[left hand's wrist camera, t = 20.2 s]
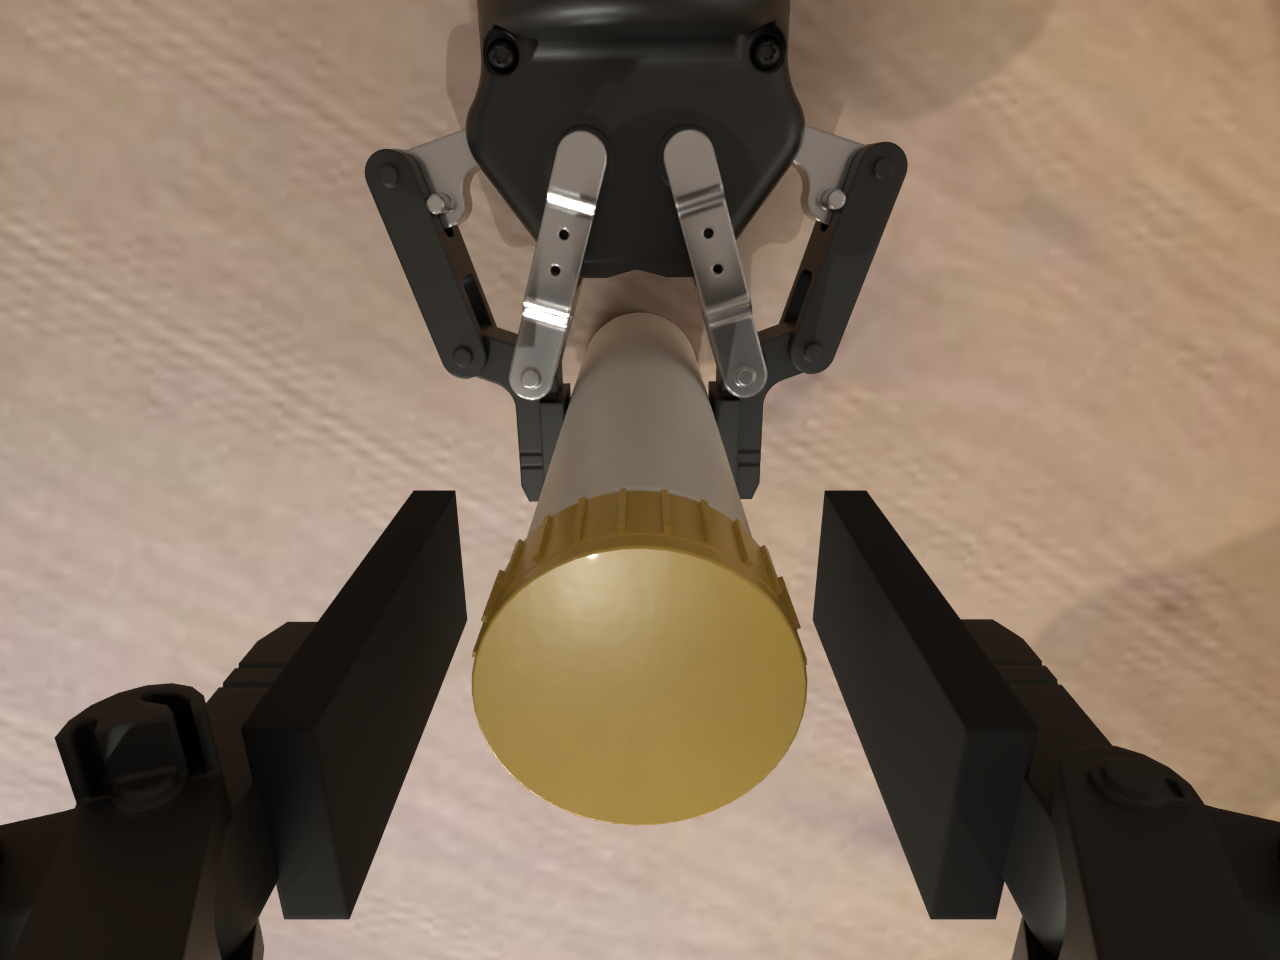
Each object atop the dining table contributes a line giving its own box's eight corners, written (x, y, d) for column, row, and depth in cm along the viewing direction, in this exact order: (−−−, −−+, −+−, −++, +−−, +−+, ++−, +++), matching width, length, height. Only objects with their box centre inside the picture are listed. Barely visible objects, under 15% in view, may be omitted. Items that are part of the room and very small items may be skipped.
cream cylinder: (711, 330, 28) (827, 576, 11) (676, 435, 30) (729, 804, 12) (600, 297, 28) (533, 497, 10) (570, 406, 29) (467, 742, 12)
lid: (538, 765, 13) (523, 854, 12) (451, 522, 12) (418, 585, 10) (808, 712, 13) (836, 796, 11) (759, 453, 11) (780, 505, 10)
